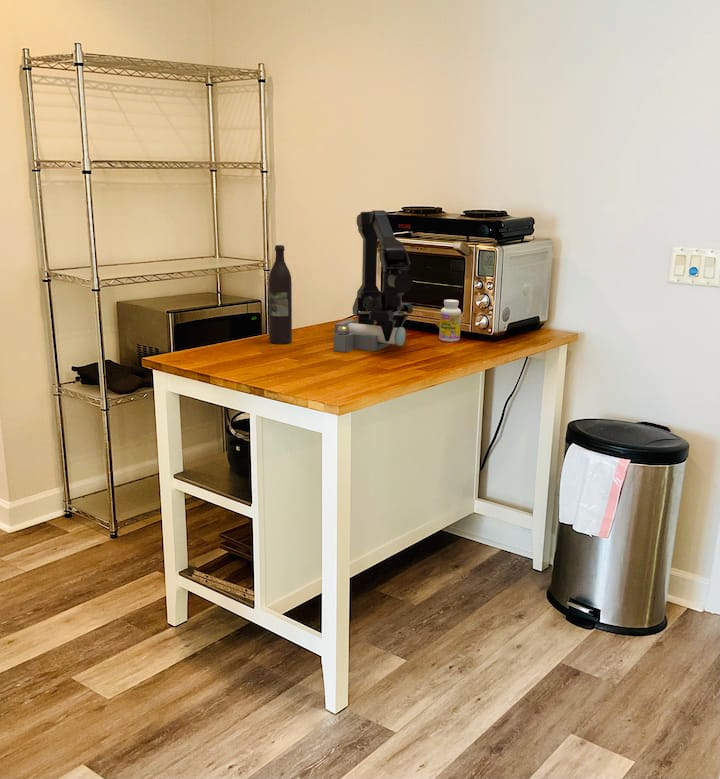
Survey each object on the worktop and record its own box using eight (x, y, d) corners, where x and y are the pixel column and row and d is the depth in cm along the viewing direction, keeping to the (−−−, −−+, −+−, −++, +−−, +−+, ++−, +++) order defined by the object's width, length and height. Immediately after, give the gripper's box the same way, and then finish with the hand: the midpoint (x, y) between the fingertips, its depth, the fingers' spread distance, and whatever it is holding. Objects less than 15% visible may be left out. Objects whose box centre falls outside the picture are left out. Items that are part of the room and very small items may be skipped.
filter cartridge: (354, 338, 254) (354, 320, 253) (405, 344, 247) (405, 326, 245) (345, 341, 249) (346, 323, 248) (397, 347, 242) (398, 328, 240)
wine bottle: (264, 342, 254) (263, 245, 246) (280, 338, 259) (280, 244, 251) (280, 345, 249) (279, 246, 242) (296, 342, 255) (296, 245, 247)
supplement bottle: (436, 340, 260) (438, 301, 256) (442, 337, 266) (444, 298, 262) (456, 342, 257) (458, 302, 254) (462, 339, 263) (464, 299, 260)
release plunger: (341, 346, 246) (341, 325, 244) (350, 348, 245) (351, 326, 243) (335, 348, 243) (335, 327, 241) (345, 350, 242) (345, 328, 240)
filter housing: (349, 340, 258) (349, 319, 256) (389, 345, 252) (389, 323, 250) (325, 349, 244) (325, 326, 242) (366, 354, 238) (367, 331, 236)
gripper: (381, 282, 253) (380, 332, 257) (353, 289, 237) (353, 342, 241) (414, 285, 248) (412, 335, 252) (388, 292, 232) (387, 346, 236)
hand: (391, 339), depth 245 cm, fingers closed on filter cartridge, 5 cm apart
